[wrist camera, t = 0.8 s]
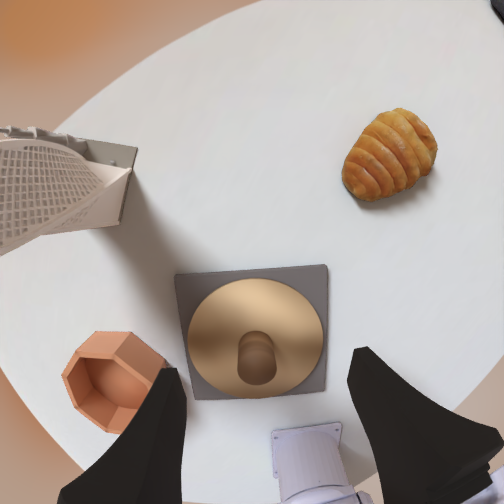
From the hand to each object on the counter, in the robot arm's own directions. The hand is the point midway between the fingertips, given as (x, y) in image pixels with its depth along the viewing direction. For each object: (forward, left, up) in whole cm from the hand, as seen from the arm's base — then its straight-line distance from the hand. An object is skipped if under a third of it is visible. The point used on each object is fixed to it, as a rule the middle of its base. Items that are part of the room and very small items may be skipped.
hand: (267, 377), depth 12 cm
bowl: (-10, +15, -15) cm, 23 cm away
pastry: (+10, -13, -16) cm, 23 cm away
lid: (-6, +1, -14) cm, 15 cm away
